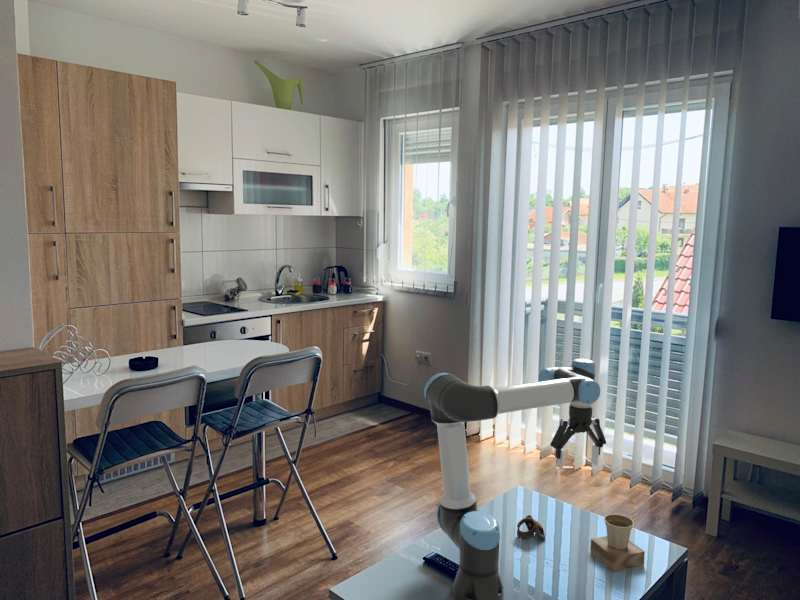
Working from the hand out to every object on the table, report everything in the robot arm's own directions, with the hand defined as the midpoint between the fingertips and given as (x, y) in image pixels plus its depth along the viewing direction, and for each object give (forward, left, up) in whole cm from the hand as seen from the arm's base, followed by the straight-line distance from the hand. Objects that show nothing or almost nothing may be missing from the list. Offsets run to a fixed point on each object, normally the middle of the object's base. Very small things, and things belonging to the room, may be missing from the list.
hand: (577, 465), depth 202 cm
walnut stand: (+10, -10, -30) cm, 33 cm away
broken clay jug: (-10, +11, -30) cm, 34 cm away
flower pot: (+10, -10, -25) cm, 29 cm away
